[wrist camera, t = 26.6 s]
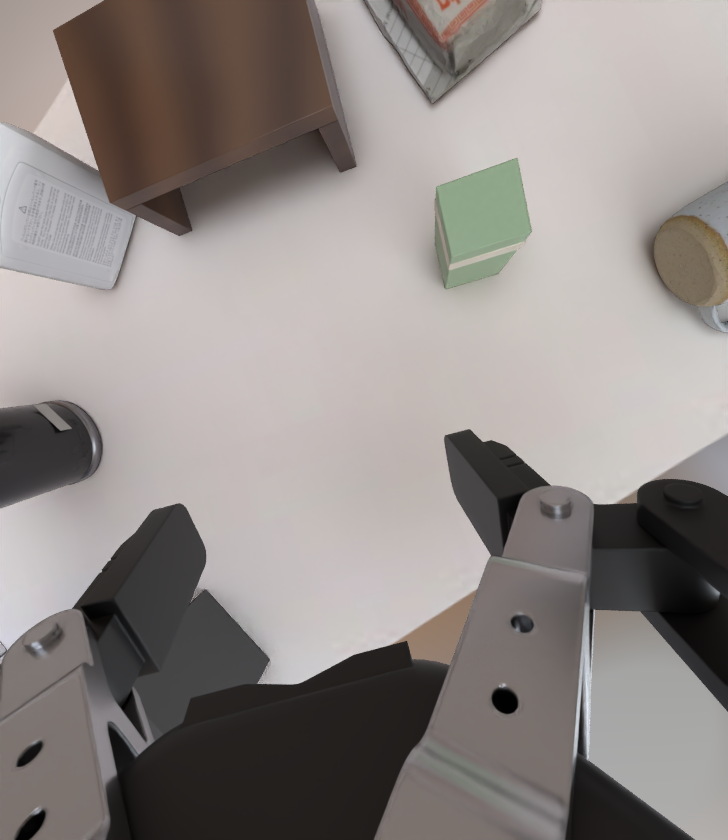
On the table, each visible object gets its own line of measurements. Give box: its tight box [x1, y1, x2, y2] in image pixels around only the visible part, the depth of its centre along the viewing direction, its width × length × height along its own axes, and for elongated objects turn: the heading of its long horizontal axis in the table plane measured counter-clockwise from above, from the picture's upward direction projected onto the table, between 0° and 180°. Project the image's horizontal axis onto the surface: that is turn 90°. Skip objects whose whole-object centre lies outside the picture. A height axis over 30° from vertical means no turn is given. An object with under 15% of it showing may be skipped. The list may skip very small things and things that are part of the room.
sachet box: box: [435, 158, 532, 289], centre depth 26 cm, size 5×4×11 cm
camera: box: [133, 590, 270, 741], centre depth 38 cm, size 25×16×16 cm, turn 133°
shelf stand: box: [53, 0, 356, 236], centre depth 29 cm, size 18×12×8 cm, turn 105°
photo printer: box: [0, 122, 136, 290], centre depth 31 cm, size 10×4×12 cm, turn 154°
